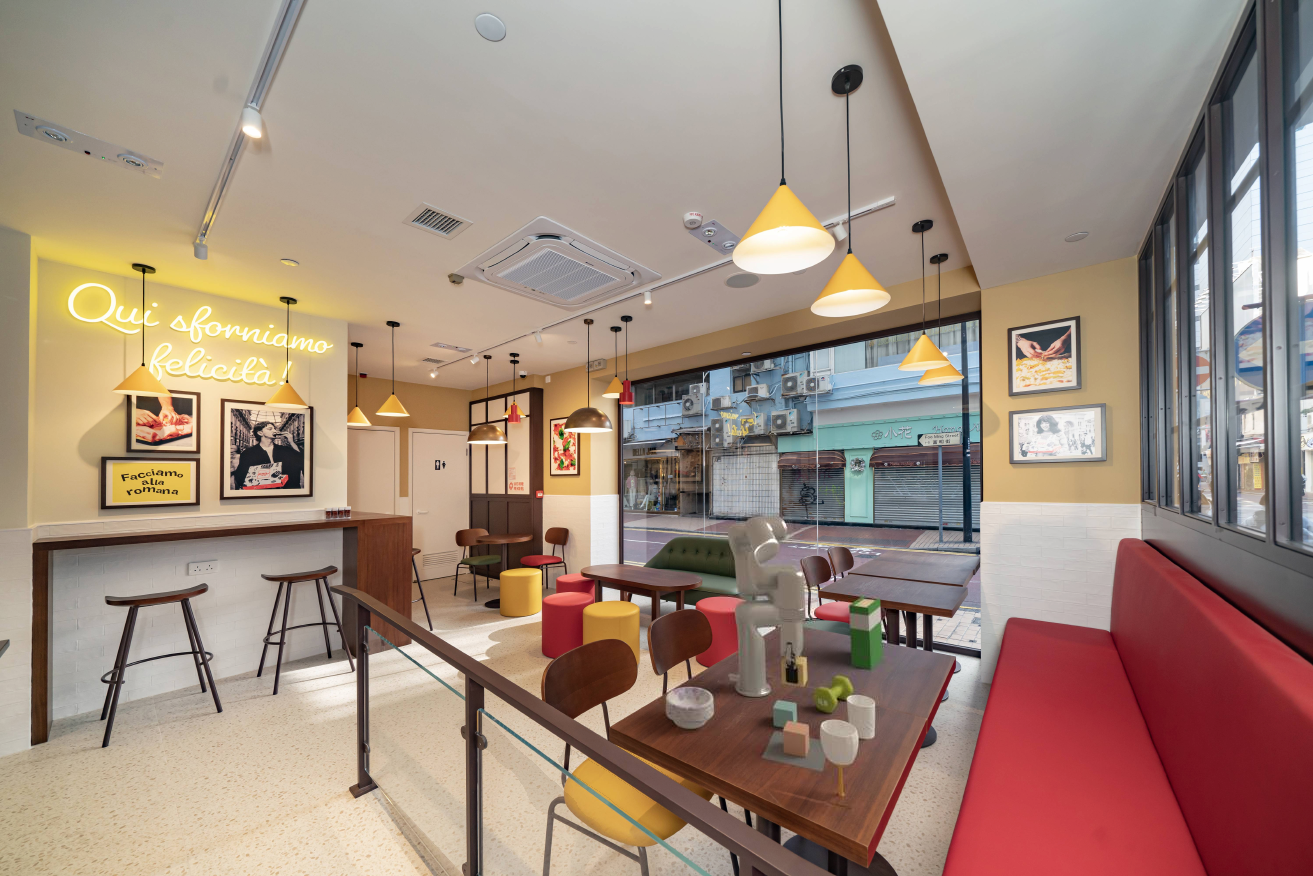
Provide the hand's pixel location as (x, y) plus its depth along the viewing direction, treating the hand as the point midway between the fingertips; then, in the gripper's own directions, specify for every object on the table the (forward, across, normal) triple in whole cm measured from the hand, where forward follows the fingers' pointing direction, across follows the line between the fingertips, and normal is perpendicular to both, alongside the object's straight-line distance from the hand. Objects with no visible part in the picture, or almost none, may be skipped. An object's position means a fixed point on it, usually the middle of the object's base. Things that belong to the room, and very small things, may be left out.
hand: (794, 677), depth 143 cm
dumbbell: (+21, -35, +6) cm, 41 cm away
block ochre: (+1, 0, 0) cm, 1 cm away
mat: (+20, 0, 0) cm, 20 cm away
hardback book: (+20, -81, +14) cm, 85 cm away
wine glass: (+21, +15, +13) cm, 29 cm away
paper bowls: (+20, -4, -34) cm, 40 cm away
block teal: (+20, -14, -6) cm, 26 cm away
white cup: (+21, -17, +16) cm, 31 cm away
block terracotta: (+20, 0, 0) cm, 20 cm away
